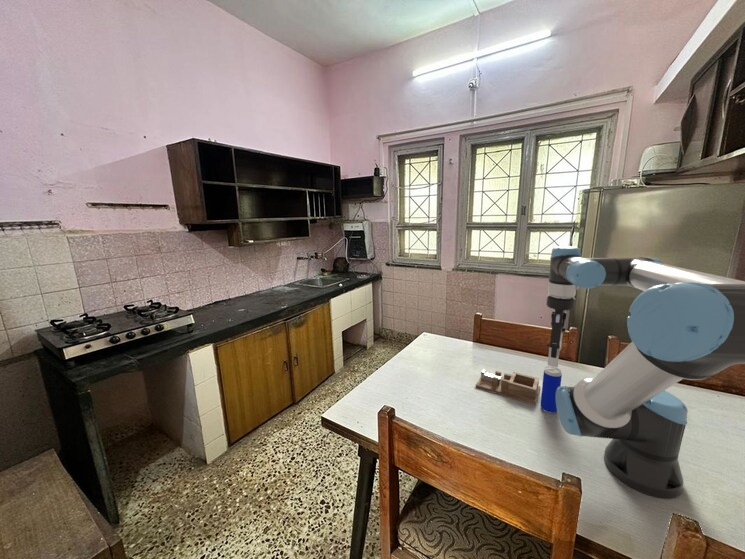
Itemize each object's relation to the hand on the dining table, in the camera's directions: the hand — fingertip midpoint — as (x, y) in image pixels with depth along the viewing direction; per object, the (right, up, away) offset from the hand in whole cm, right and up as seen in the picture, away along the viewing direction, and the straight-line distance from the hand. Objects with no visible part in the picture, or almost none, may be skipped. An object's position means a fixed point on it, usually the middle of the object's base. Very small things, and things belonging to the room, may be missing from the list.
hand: (554, 357), depth 98 cm
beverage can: (+1, -19, +4) cm, 20 cm away
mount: (-8, -16, +17) cm, 25 cm away
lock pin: (-13, -15, +20) cm, 28 cm away
